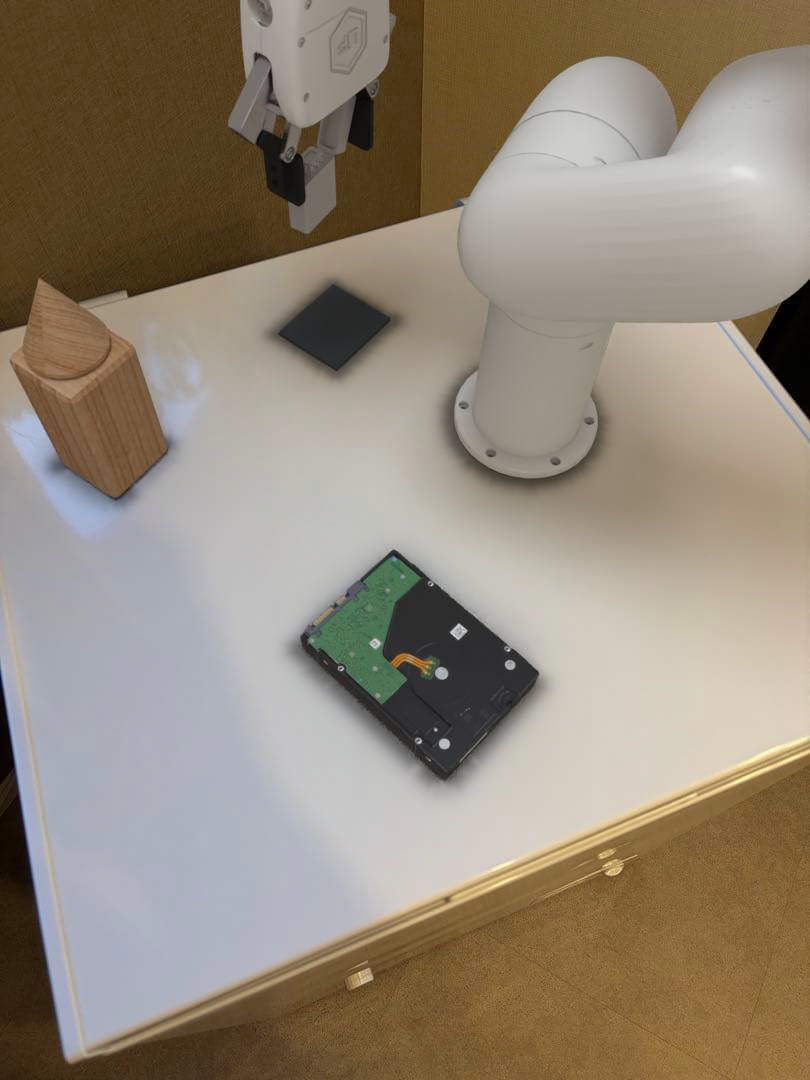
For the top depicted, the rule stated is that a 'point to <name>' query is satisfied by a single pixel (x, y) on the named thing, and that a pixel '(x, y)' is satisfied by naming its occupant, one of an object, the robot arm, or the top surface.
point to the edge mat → (334, 327)
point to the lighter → (322, 169)
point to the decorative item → (88, 393)
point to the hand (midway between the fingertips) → (321, 167)
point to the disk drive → (419, 662)
